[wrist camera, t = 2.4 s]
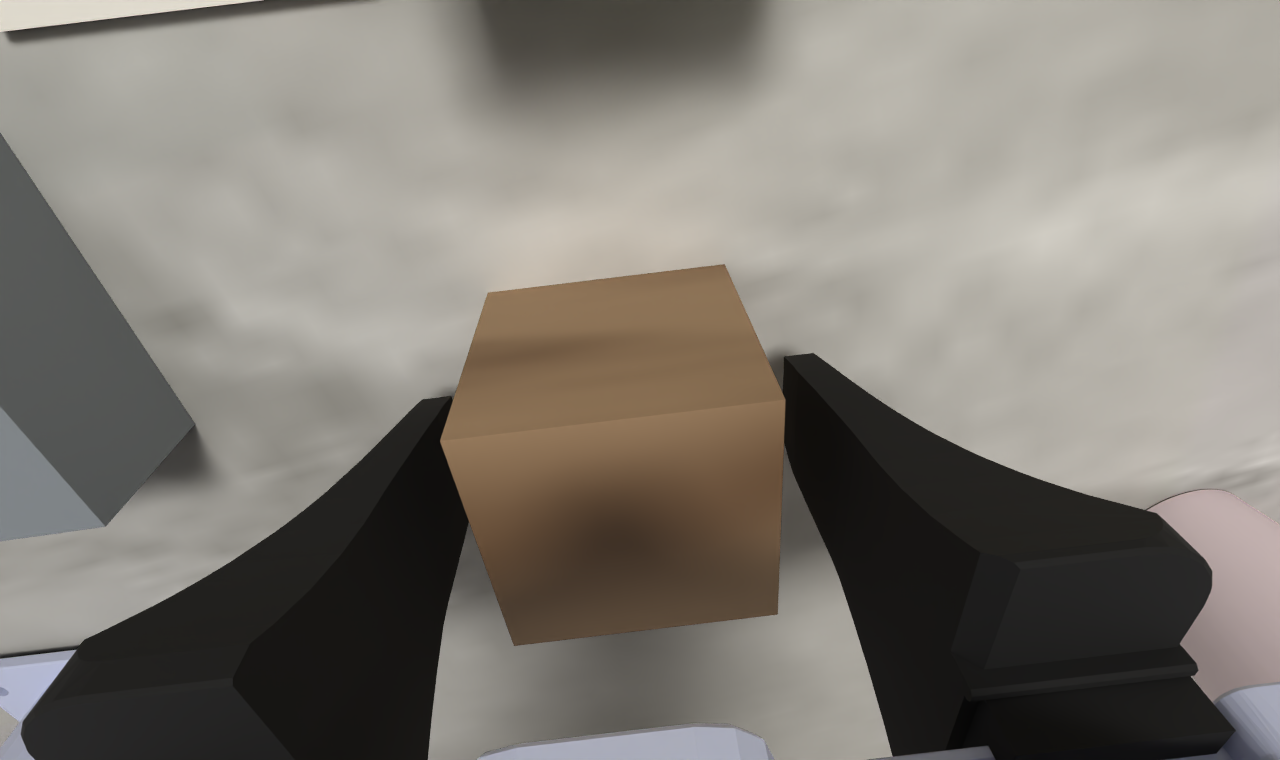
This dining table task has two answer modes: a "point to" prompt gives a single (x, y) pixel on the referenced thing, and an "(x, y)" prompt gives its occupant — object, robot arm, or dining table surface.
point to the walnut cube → (621, 455)
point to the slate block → (68, 379)
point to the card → (88, 10)
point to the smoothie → (1231, 589)
